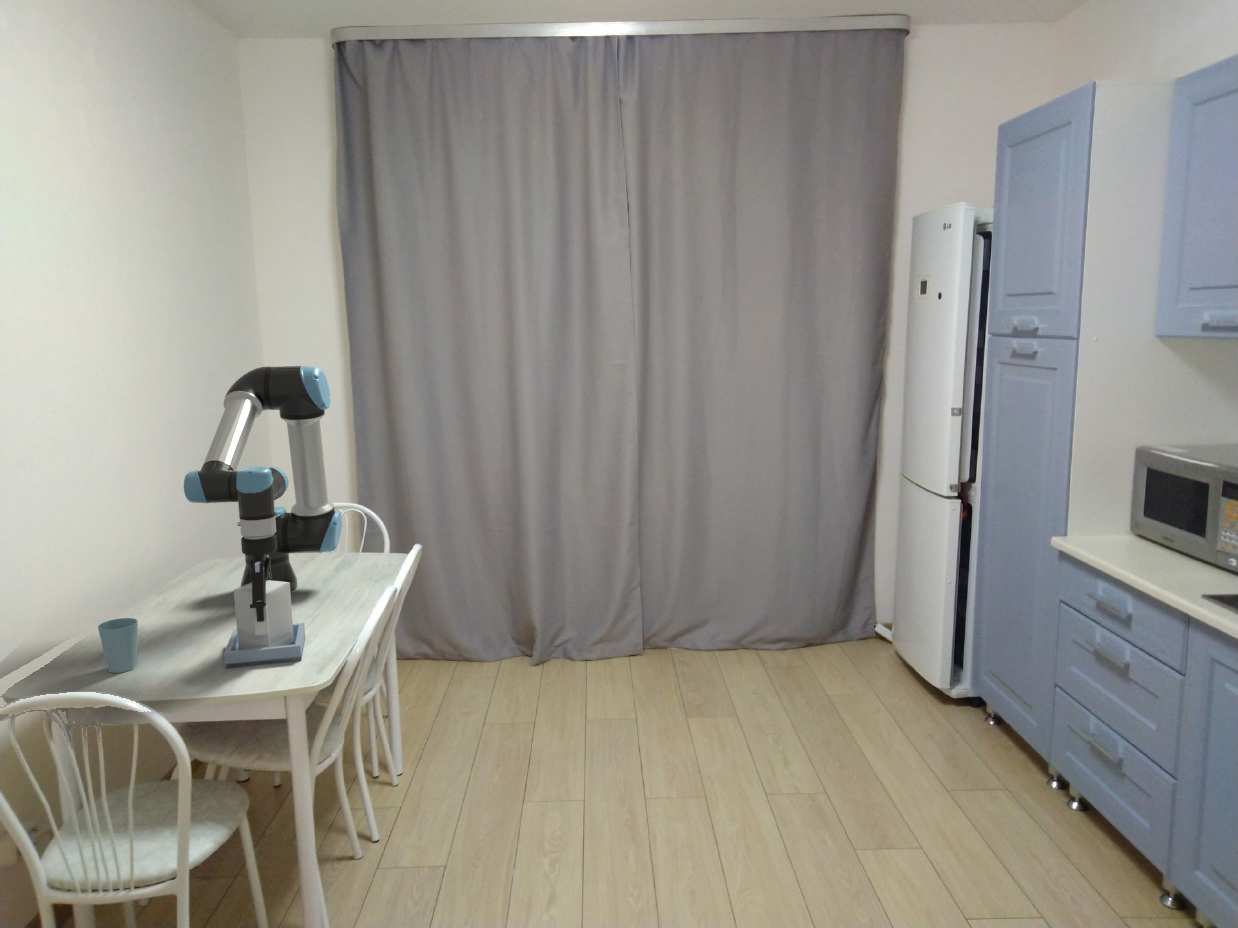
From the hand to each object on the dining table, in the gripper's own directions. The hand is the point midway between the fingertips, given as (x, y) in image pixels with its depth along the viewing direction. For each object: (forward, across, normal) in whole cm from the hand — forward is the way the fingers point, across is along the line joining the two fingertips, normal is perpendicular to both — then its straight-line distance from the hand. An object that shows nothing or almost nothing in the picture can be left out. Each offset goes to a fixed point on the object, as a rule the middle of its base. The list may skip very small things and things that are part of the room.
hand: (265, 624), depth 203 cm
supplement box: (+6, 0, 0) cm, 6 cm away
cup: (+7, +1, -30) cm, 31 cm away
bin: (+7, 0, 0) cm, 7 cm away
